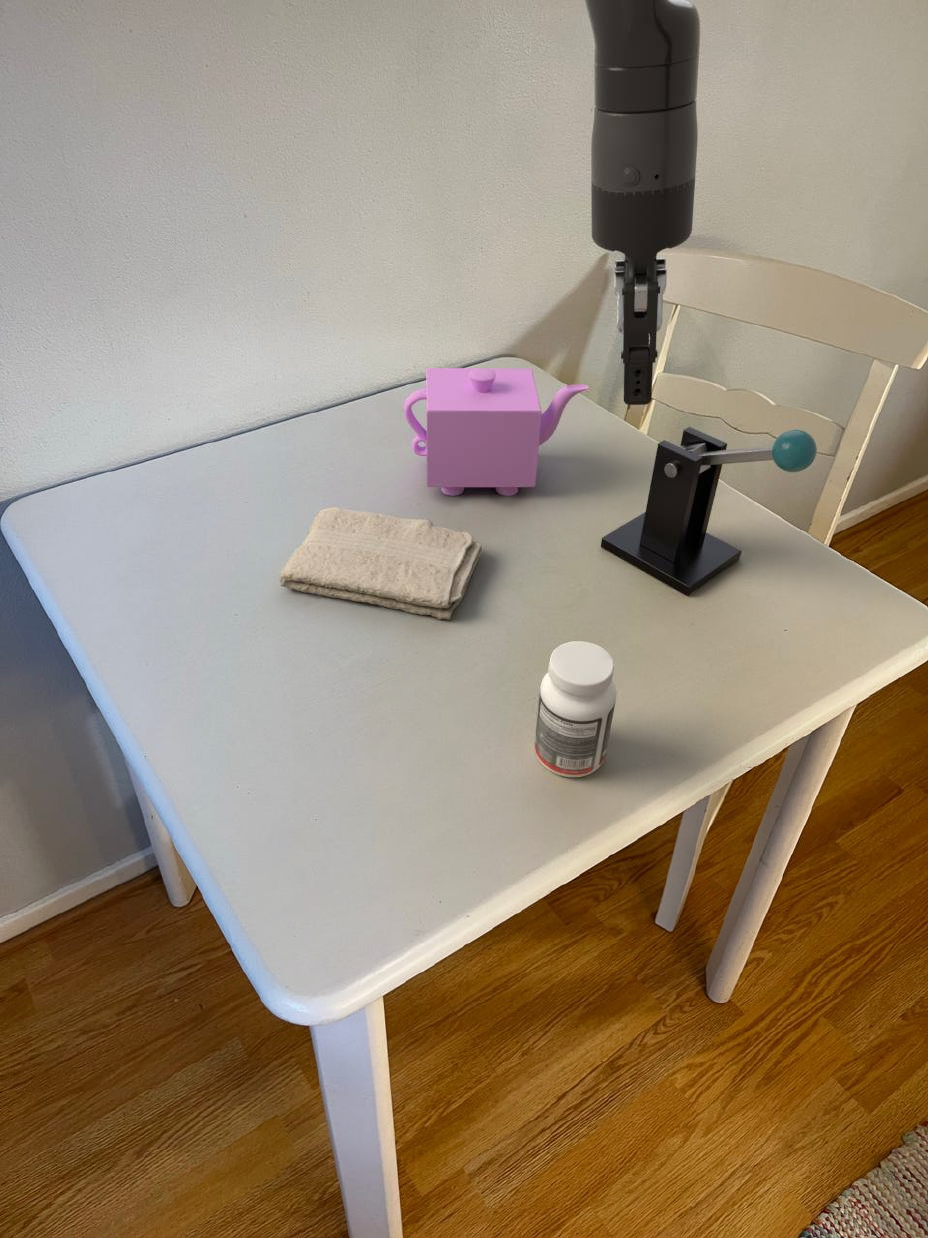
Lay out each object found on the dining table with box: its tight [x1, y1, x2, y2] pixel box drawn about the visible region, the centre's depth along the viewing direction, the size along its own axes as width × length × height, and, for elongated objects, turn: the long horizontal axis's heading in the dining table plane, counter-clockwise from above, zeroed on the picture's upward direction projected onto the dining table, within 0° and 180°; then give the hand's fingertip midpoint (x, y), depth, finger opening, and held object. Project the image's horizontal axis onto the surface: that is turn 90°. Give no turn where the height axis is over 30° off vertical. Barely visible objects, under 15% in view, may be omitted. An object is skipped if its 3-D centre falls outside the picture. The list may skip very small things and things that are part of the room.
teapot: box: [403, 367, 590, 497], centre depth 99 cm, size 20×10×12 cm, turn 92°
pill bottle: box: [534, 640, 617, 778], centre depth 68 cm, size 6×6×10 cm
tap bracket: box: [600, 426, 742, 597], centre depth 88 cm, size 11×9×13 cm
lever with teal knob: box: [679, 429, 818, 474], centre depth 81 cm, size 14×4×4 cm, turn 43°
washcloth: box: [278, 506, 483, 621], centre depth 88 cm, size 12×18×3 cm, turn 76°
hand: (637, 379), depth 76 cm, fingers open, 8 cm apart
